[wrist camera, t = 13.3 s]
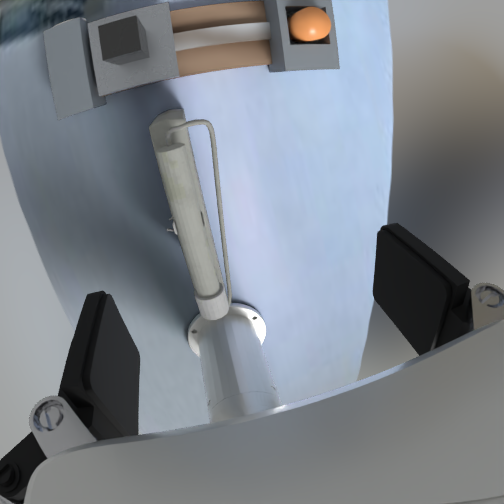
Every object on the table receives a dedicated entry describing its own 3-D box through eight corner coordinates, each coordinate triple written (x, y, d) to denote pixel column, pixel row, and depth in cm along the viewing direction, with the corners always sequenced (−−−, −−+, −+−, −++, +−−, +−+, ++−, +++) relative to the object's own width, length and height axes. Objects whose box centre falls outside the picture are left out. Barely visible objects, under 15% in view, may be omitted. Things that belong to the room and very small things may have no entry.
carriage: (179, 76, 29) (179, 73, 21) (105, 95, 28) (78, 100, 20) (169, 8, 25) (166, -20, 16) (94, 28, 24) (64, 9, 15)
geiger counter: (129, 133, 21) (206, 363, 34) (214, 111, 22) (262, 349, 35) (148, 115, 33) (196, 290, 46) (202, 101, 33) (239, 279, 47)
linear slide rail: (317, 69, 34) (339, 69, 29) (75, 114, 30) (58, 120, 25) (307, -7, 29) (328, -18, 23) (62, 35, 25) (42, 28, 20)
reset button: (316, 42, 29) (332, 39, 26) (285, 43, 29) (298, 39, 25) (313, 13, 27) (328, 7, 24) (281, 13, 27) (294, 6, 23)
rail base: (316, 61, 33) (325, 61, 31) (73, 106, 30) (66, 108, 28) (308, 2, 29) (317, -2, 27) (63, 44, 26) (55, 42, 24)
